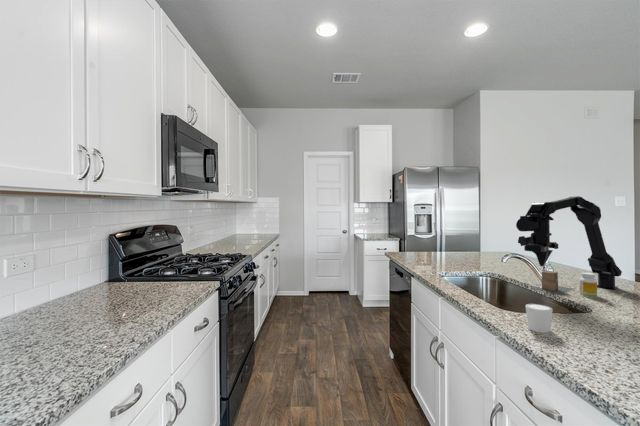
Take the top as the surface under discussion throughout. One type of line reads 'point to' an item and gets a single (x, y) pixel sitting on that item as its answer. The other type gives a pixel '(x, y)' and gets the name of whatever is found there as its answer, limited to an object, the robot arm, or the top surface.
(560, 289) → the gray flat panel
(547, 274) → the walnut block
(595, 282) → the supplement bottle
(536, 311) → the white cup
